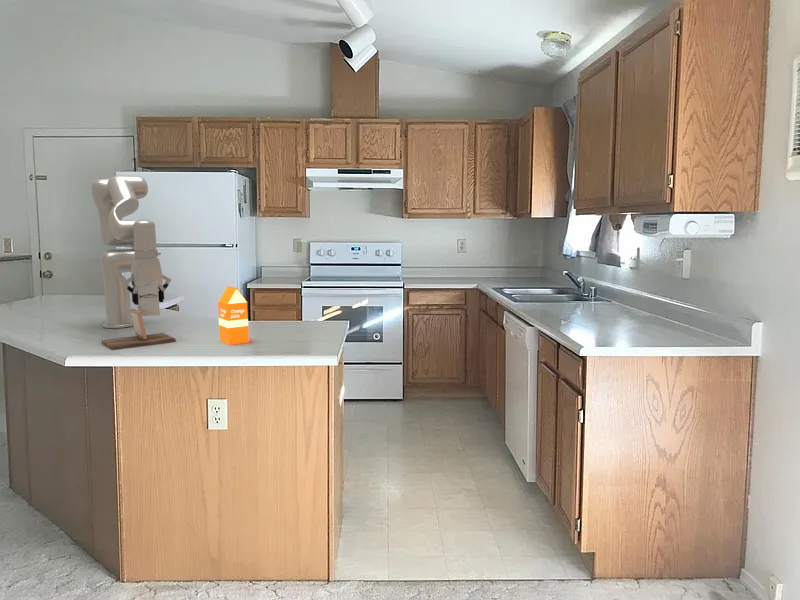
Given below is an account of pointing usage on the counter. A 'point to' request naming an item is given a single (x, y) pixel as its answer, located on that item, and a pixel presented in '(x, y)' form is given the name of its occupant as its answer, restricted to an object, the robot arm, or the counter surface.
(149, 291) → the supplement box
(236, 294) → the orange juice
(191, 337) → the counter surface
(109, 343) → the board
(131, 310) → the tile
